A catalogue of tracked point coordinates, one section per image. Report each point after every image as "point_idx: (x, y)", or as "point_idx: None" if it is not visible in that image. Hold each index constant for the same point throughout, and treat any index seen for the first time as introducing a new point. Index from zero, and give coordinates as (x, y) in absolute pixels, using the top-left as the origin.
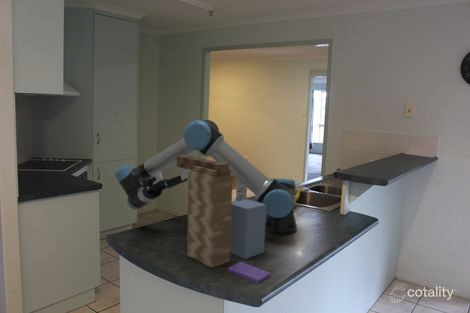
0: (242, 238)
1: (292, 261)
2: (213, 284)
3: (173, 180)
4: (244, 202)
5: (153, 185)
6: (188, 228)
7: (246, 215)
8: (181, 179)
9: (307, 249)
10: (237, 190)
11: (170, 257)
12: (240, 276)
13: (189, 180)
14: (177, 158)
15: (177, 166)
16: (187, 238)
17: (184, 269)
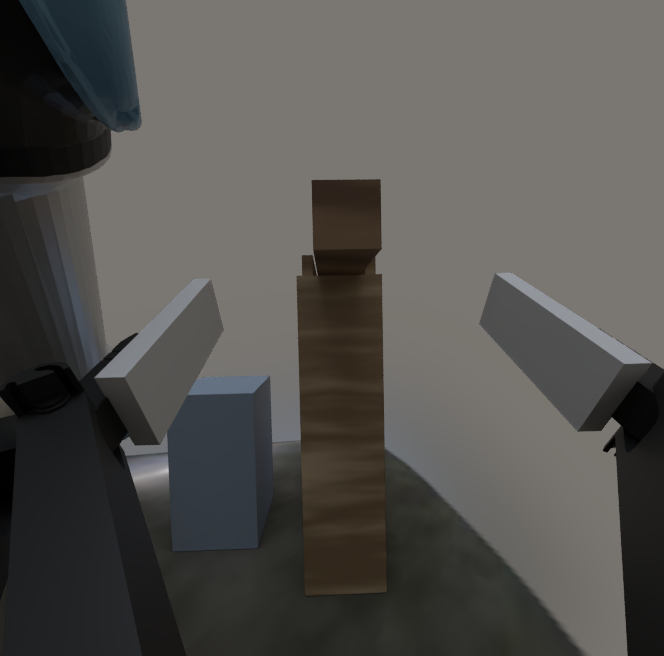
0: (269, 455)
1: None
2: (400, 466)
3: (139, 546)
4: (214, 387)
5: (622, 509)
6: (383, 487)
7: (269, 392)
8: (155, 432)
9: (141, 470)
10: None
11: (454, 612)
12: None
13: (381, 309)
14: (379, 197)
15: (380, 248)
16: (385, 529)
17: (431, 522)
